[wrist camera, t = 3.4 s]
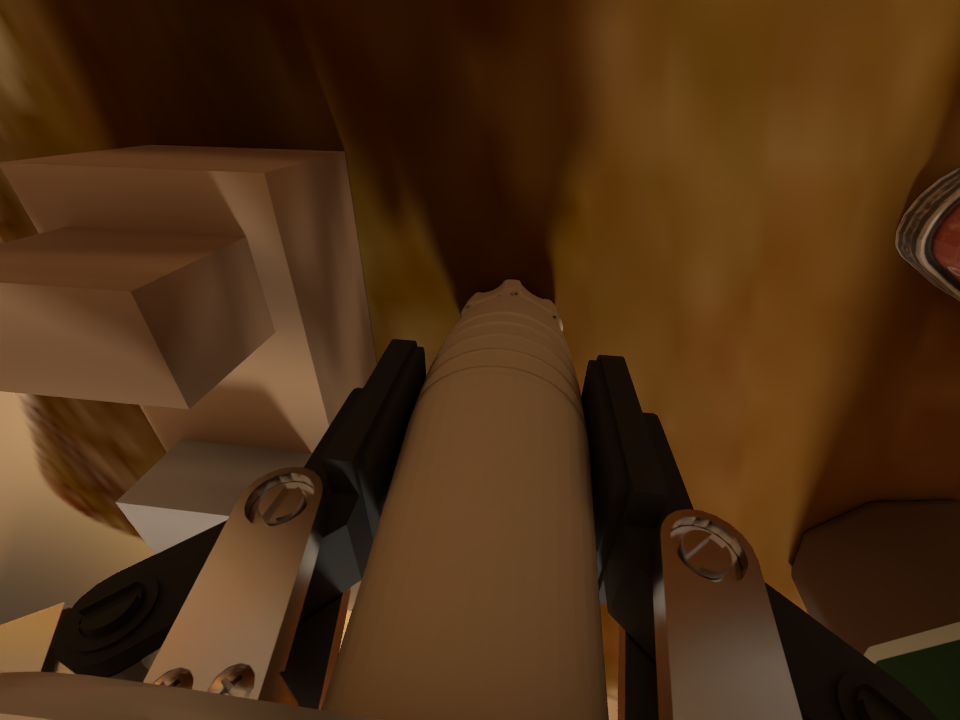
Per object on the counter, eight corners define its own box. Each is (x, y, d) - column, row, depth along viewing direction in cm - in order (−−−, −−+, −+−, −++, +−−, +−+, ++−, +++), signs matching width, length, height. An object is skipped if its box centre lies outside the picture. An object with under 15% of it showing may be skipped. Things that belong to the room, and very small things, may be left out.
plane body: (149, 144, 12) (-272, 194, 6) (344, 151, 11) (114, 214, 5) (294, 519, 22) (198, 685, 16) (402, 532, 21) (347, 710, 15)
